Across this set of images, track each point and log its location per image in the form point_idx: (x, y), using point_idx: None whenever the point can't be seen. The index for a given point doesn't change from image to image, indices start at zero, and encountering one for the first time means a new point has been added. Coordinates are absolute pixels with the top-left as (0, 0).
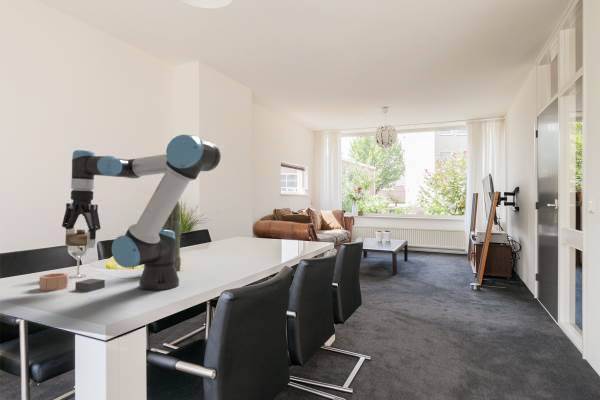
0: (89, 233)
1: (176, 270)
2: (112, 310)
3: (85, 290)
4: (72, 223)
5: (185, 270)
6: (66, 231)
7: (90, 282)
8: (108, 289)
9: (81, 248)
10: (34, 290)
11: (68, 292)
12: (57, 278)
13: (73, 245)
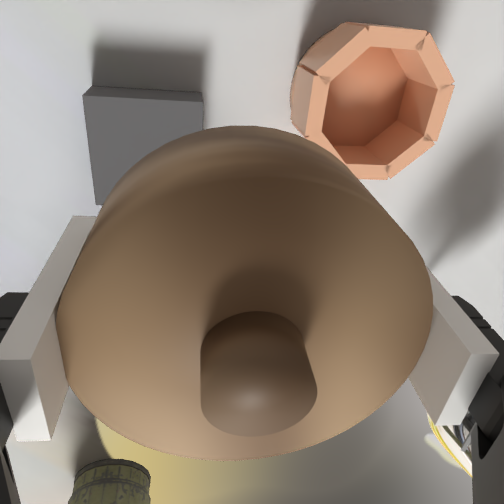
0: (10, 341)
1: (74, 483)
2: None
3: (122, 88)
4: (494, 484)
5: (63, 500)
6: (501, 343)
7: (110, 126)
8: (42, 161)
9: None
10: (416, 15)
11: (191, 34)
12: (314, 70)
13: (186, 138)
